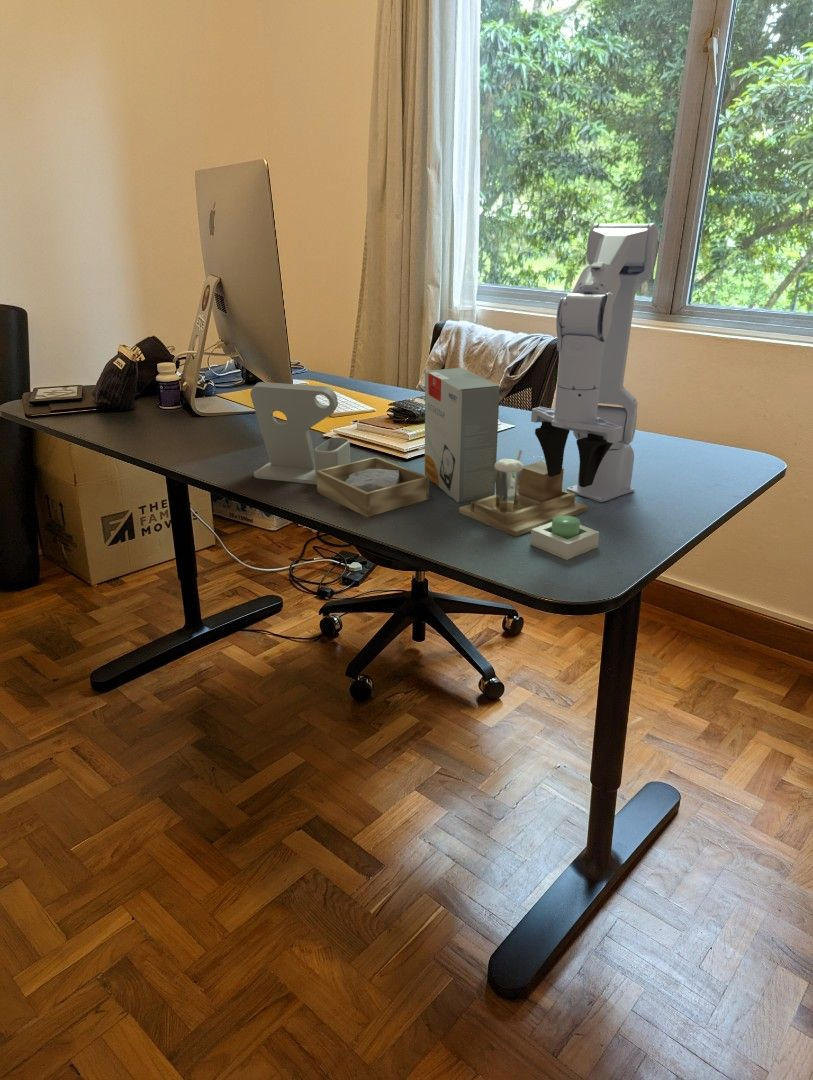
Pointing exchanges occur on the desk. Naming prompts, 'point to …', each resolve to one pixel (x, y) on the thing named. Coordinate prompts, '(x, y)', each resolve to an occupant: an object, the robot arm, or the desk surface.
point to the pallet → (523, 512)
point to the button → (565, 526)
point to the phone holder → (296, 431)
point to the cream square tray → (564, 541)
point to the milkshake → (508, 483)
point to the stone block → (374, 479)
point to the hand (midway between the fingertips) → (569, 480)
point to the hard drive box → (461, 433)
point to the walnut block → (540, 483)
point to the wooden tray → (376, 501)
